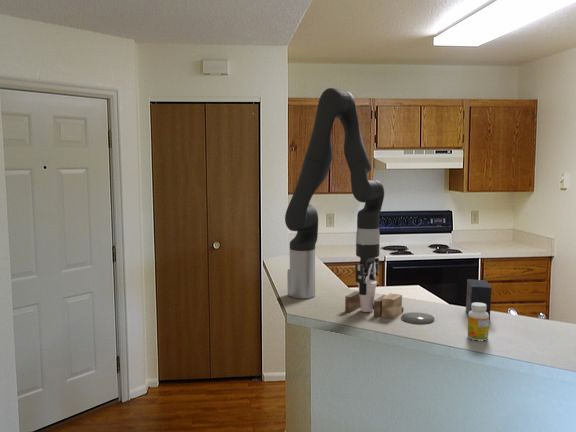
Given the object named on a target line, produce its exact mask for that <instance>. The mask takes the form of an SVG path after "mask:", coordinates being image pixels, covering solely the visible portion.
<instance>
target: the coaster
mask: <svg viewBox="0 0 576 432" xmlns="http://www.w3.org/2000/svg"><path fill="white" fill-rule="evenodd" d="M401 320H402V321H404V322H406V323H408V324H409V323H410V324H414V325H415V324H417V325H427V324H431V323H433V322H435V316H433V315H432V314H430V313H429V314H428V313H424V312H416V311H415V312H405V313H403V314H401Z"/></svg>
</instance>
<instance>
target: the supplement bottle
mask: <svg viewBox="0 0 576 432" xmlns="http://www.w3.org/2000/svg"><path fill="white" fill-rule="evenodd" d="M471 309H472V310H471V311H470V312H469V313H468V314H467V318H468V319H467V338H468V339H469V338H470V339H469V340H471V339H472V341H474V340H486V339H487V340H489V323H490V322H489V321H490V320H489V314H488V313H487V312H486V309H487V305H486V304H484V303H478V302H475V303H472V304H471ZM487 340H486V341H487Z"/></svg>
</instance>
